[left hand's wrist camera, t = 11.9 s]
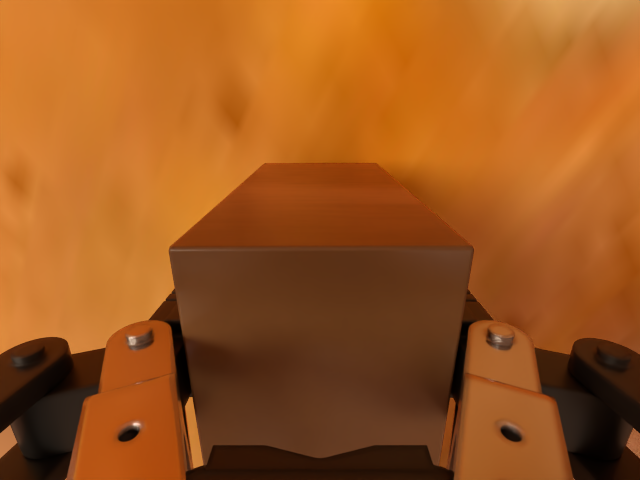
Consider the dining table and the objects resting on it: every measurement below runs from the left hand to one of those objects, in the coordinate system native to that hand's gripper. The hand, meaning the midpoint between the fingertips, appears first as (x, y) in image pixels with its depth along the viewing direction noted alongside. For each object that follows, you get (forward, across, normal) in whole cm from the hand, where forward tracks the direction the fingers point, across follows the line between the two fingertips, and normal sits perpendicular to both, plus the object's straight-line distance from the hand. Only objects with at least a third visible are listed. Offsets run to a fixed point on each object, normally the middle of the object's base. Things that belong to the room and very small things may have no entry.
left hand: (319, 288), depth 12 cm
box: (+8, 0, +10) cm, 12 cm away
